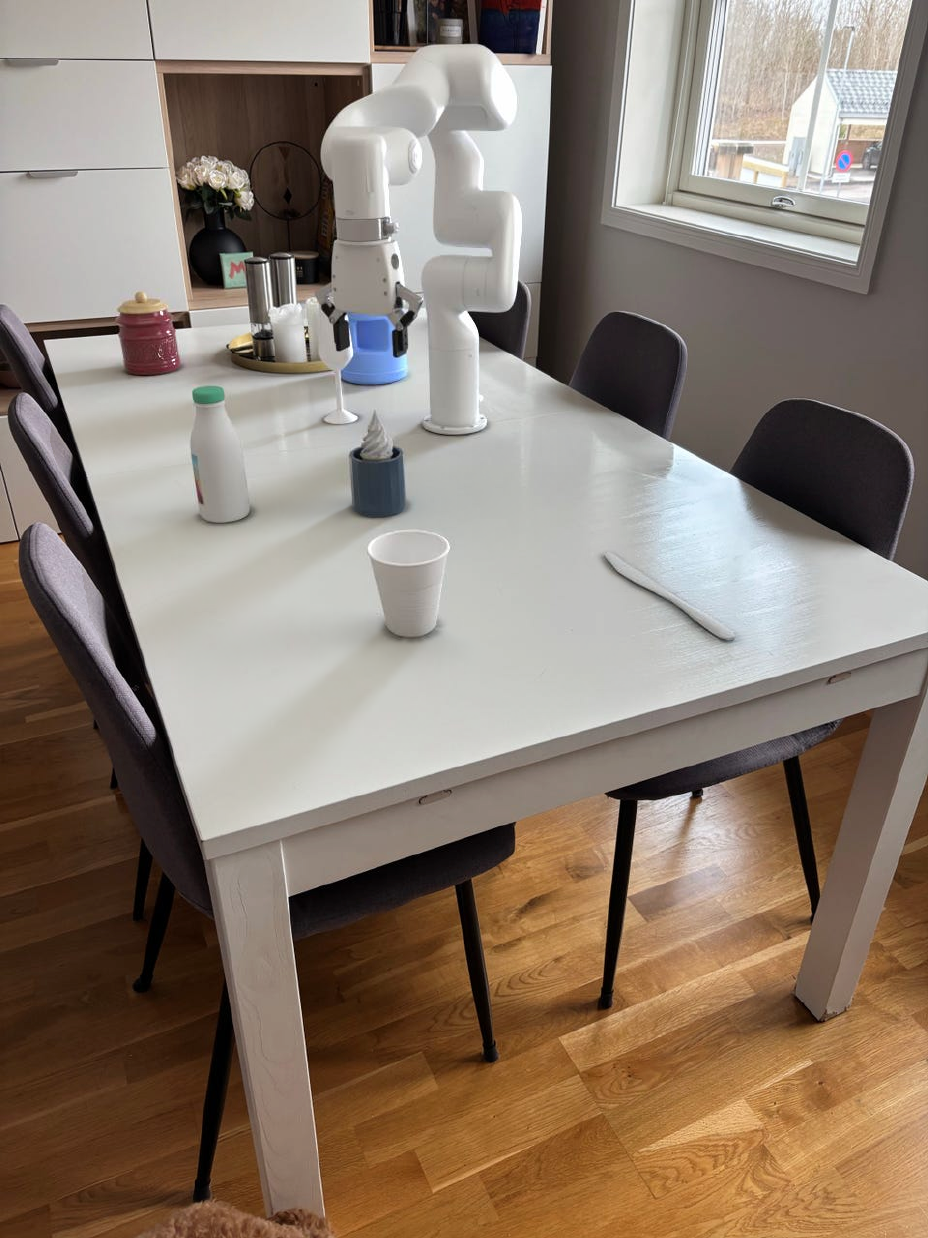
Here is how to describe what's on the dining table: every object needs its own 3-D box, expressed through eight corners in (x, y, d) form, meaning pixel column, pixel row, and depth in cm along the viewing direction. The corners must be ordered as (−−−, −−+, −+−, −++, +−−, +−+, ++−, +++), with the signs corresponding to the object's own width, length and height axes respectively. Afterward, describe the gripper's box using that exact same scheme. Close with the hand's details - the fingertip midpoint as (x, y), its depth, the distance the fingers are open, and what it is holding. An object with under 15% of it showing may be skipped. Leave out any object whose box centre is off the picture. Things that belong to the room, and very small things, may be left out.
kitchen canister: (139, 360, 233) (125, 285, 224) (189, 362, 231) (178, 286, 223) (115, 375, 222) (100, 296, 213) (168, 376, 220) (155, 297, 211)
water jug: (369, 363, 228) (362, 239, 214) (421, 373, 220) (417, 245, 206) (325, 378, 217) (314, 248, 204) (377, 389, 209) (370, 254, 195)
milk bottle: (259, 507, 152) (244, 383, 142) (234, 526, 146) (216, 398, 136) (217, 502, 154) (199, 379, 145) (191, 520, 148) (170, 393, 138)
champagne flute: (317, 421, 190) (306, 297, 178) (334, 411, 196) (324, 290, 184) (347, 425, 188) (338, 299, 176) (363, 415, 193) (355, 292, 182)
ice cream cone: (390, 508, 149) (385, 415, 142) (359, 506, 150) (353, 413, 143) (398, 496, 154) (394, 405, 146) (368, 494, 154) (362, 404, 147)
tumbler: (369, 493, 157) (365, 441, 153) (414, 501, 154) (412, 448, 150) (343, 512, 150) (339, 458, 146) (390, 520, 147) (387, 465, 143)
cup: (371, 609, 123) (366, 531, 117) (448, 605, 124) (446, 527, 118) (371, 649, 114) (366, 567, 109) (454, 644, 115) (452, 562, 109)
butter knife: (719, 640, 114) (739, 633, 115) (596, 555, 135) (613, 550, 136) (719, 644, 114) (738, 637, 115) (596, 559, 136) (613, 553, 137)
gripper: (430, 229, 134) (434, 351, 143) (324, 223, 140) (334, 341, 149) (406, 237, 128) (411, 364, 137) (296, 231, 134) (308, 353, 143)
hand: (371, 352), depth 143 cm, fingers open, 9 cm apart
